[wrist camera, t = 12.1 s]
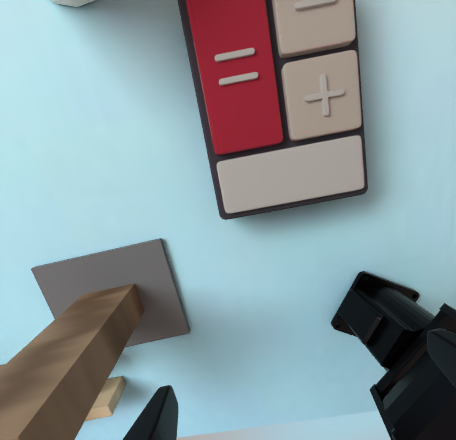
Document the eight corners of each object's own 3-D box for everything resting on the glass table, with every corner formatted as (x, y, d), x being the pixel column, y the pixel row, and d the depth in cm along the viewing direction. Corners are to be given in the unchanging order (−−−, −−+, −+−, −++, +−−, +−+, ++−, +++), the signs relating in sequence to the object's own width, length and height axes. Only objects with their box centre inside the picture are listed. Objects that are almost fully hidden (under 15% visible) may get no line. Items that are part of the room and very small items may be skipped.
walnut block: (134, 283, 20) (17, 437, 9) (144, 311, 21) (48, 487, 9) (82, 294, 21) (-101, 460, 9) (94, 321, 21) (-63, 509, 10)
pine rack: (106, 338, 22) (88, 364, 19) (125, 384, 24) (112, 415, 21) (27, 355, 22) (-3, 383, 19) (50, 400, 24) (26, 432, 21)
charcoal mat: (160, 238, 20) (159, 239, 20) (189, 330, 22) (189, 333, 22) (34, 266, 20) (30, 268, 20) (75, 354, 23) (73, 358, 22)
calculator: (360, -67, 13) (376, 194, 15) (326, -5, 17) (343, 191, 20) (171, -28, 13) (220, 223, 16) (184, 24, 17) (221, 213, 20)
